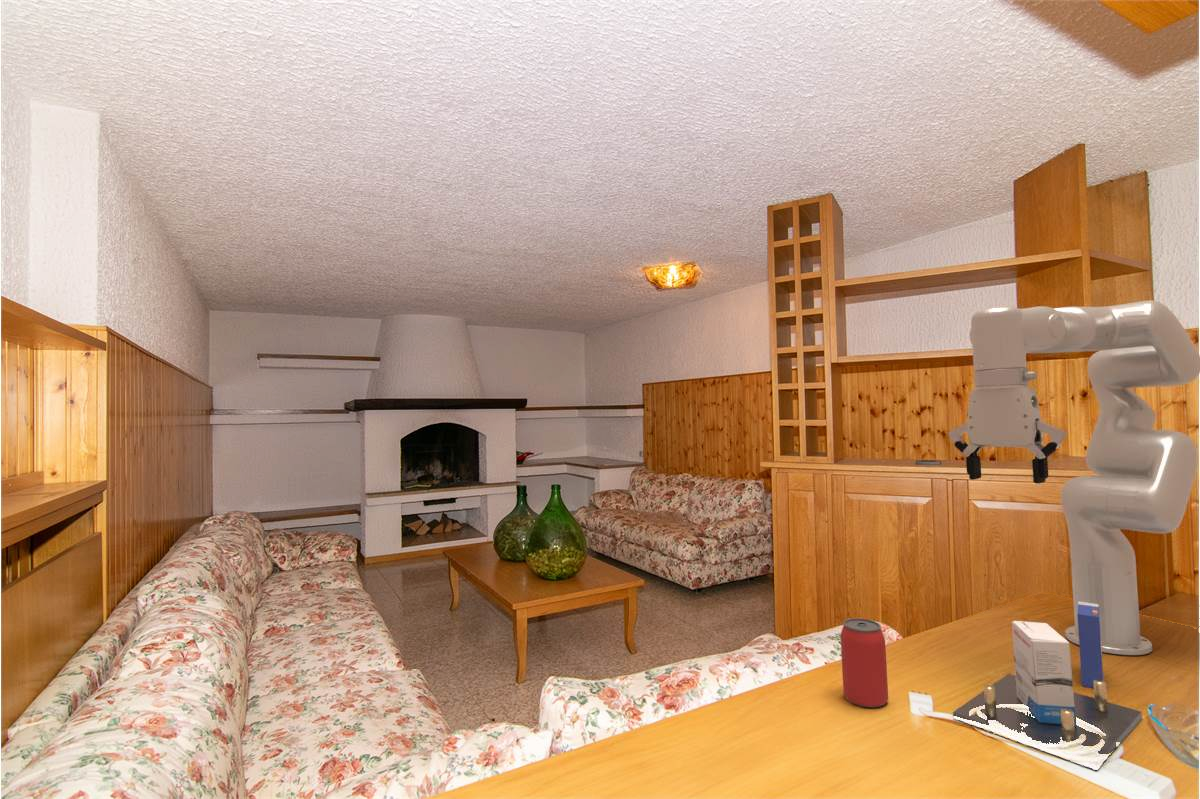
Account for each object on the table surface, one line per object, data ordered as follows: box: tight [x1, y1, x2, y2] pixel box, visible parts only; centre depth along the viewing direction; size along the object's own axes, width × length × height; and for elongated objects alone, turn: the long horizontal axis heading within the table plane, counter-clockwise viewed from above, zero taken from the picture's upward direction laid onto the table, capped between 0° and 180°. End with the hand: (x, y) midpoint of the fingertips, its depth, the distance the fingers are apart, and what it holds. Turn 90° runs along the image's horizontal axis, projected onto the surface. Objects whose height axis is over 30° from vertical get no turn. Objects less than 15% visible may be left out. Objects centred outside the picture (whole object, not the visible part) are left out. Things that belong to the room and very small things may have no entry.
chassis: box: [952, 673, 1143, 754], centre depth 88 cm, size 20×17×5 cm
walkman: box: [1078, 601, 1104, 689], centre depth 100 cm, size 8×3×12 cm, turn 141°
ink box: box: [1011, 620, 1076, 725], centre depth 89 cm, size 9×5×12 cm, turn 163°
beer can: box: [840, 617, 889, 708], centre depth 96 cm, size 7×7×12 cm
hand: (1006, 480), depth 103 cm, fingers open, 9 cm apart
